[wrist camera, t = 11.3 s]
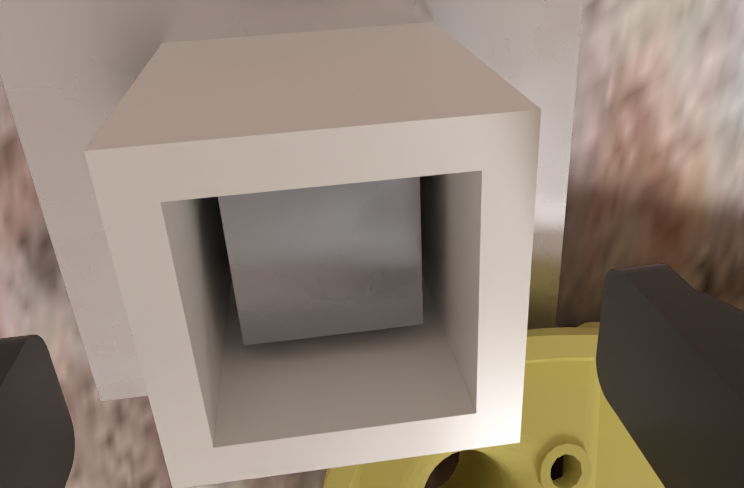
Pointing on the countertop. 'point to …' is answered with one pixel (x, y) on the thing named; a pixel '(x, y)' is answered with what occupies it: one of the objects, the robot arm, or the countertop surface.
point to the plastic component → (536, 432)
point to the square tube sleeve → (313, 169)
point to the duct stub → (274, 208)
